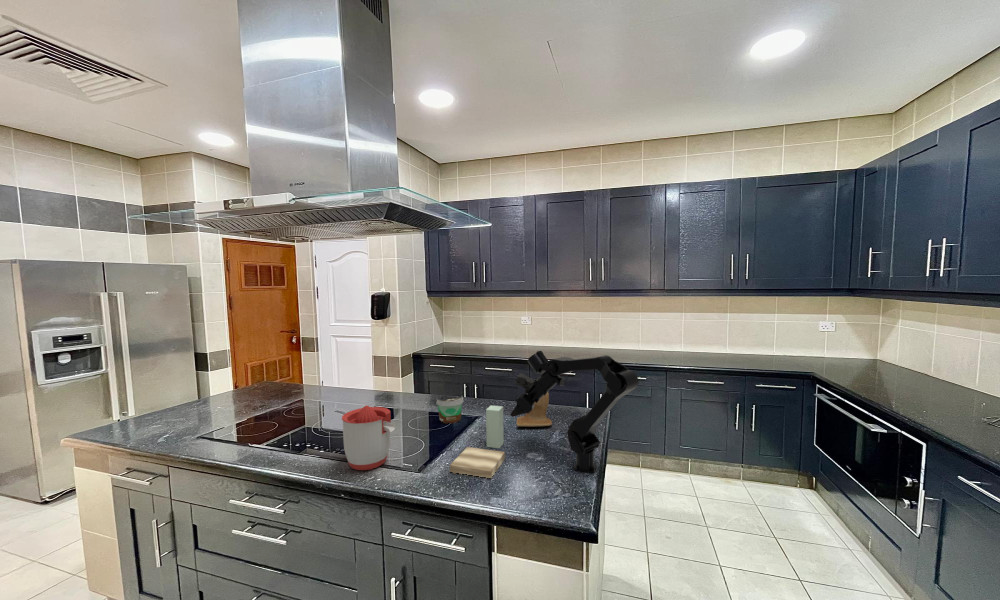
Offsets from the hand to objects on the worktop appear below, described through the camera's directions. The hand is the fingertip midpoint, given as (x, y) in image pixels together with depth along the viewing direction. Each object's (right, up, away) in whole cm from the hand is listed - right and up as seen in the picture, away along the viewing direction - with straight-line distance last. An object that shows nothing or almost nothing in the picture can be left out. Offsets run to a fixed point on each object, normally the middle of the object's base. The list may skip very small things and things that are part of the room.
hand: (514, 411), depth 140 cm
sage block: (-7, -13, +3) cm, 16 cm away
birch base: (-13, -14, -13) cm, 23 cm away
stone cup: (+9, -12, +23) cm, 28 cm away
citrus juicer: (-50, -15, -10) cm, 53 cm away
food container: (-26, -13, +27) cm, 40 cm away
